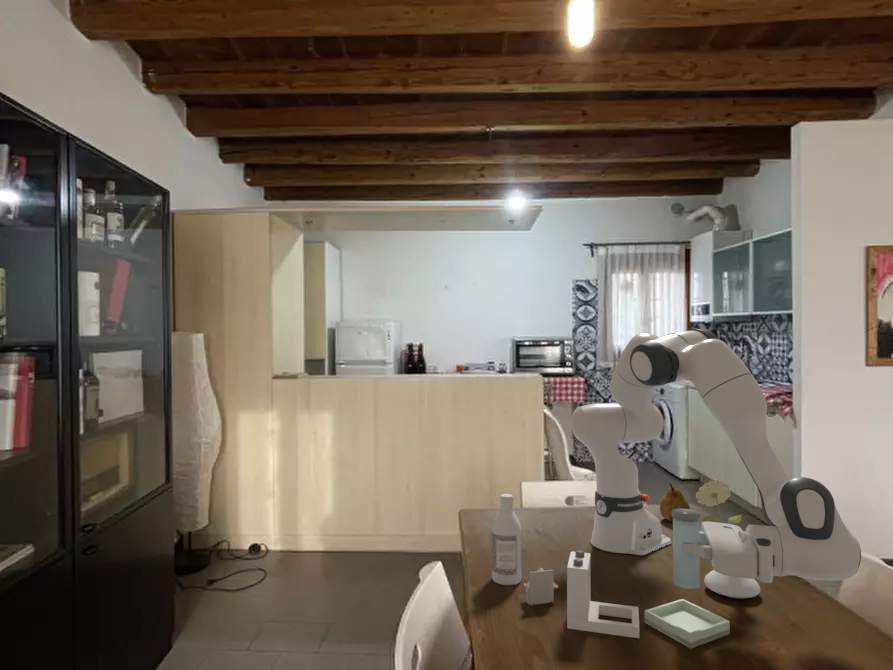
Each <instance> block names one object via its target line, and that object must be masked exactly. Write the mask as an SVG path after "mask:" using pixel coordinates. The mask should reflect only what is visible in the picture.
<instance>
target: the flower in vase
mask: <svg viewBox="0 0 893 670" xmlns="http://www.w3.org/2000/svg"><path fill="white" fill-rule="evenodd" d="M730 488H731V487H730V483H727V482H726V483H724V480H719V479H715V480H709V481H708V482H705V483H704V484H703V485H702V486H700V487H699V488H698V491H697V492H696V493H695V498H696V499H697V503H698V504H701V505H702V506H703V505H704V506H706V507H714V506H716V507H717V511H718V514H719V515H715V514H708V515H706V516H705V517H703V518H702V519H701V520H700V522H701V523H702V522H706V521H709V522H718V523H719V521H720V520H721V521H722V523H726V524H732V525H739V523H740V522H741V521H742V520H743V519H742V518H743V513H741V514H738V515H735V516H731V517H728V519H727V521H726V522H725V520H724V518H723V517H722V515H721V509H720V506H719V505H720V504H725V503H726V501H727V500H728V499H729V498H730V497H731V495H732V494H731V491H732V490H731V489H730ZM703 582H704V584H705V586H706V587H707V588H708V589H709V590H710V591H712V592H715V593H716V594H719V595H721V596H725V597H728V598H734V599H749V598H755V597H756V596H758V595H759V594H760V593H761V587H760V585H759V583H758V582H757V581H756V580H755V579H748V578H741V577H734V576H728V575H723V574H720V573H718V572H716V571H714V569H713V570H710V571H709V572H708V573H707V574H705V577H704V578H703Z"/></svg>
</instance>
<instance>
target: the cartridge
mask: <svg viewBox="0 0 893 670" xmlns="http://www.w3.org/2000/svg"><path fill="white" fill-rule="evenodd" d="M672 517H673V522H672V550H673V551H672V555H673V557H672V563H673V564H672V565H673V566H672V567H673V568H672V569H673V571H672V575H673V576H672V577H673V579H672V581H673V584H674V585H675V586H677V587H679V588H682V589H686V590H687V589H689V590H695V589H696V590H697V589H699V588H700V586H701V582H700V581H701V579H700V577H701V576H700V572H701V570H700V569H701V567H700V564H701V562H700V561H701V560H700V559H701V557H698V556H695V555H691V554H685V553H684V552H683V543H684V542H687V543H693V544H695V545H700V544H699V531H700V521H701V512H699V511H697V510H695V509H691V508H690V509H674V510H672Z"/></svg>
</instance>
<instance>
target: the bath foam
mask: <svg viewBox="0 0 893 670" xmlns="http://www.w3.org/2000/svg"><path fill="white" fill-rule="evenodd" d="M499 497H500V504H499V505H500V507H499V508H500V509H499V512H498V513H497V515H496V516H495V519H494V520H493V523H492V527H491V579H492V580H493V582H494V583H496V584H498V585H500V586H501V585H502V586H514V585H515V586H516V585H518V584H520V583H521V581H522V578H523V577H522V575H523V573H522V571H523V570H522V569H523V568H522V566H523V565H522V563H523V562H522V559H523V558H522V557H523V555H522V551H523V550H522V549H523V546H522V545H523V544H522V541H523V540H522V526H521V522H520V520H519V517H518V516H517V515H516V513H515V511H514V496H513V495H512V494H511V493H503V494H501V495H500V496H499Z"/></svg>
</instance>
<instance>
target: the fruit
mask: <svg viewBox="0 0 893 670" xmlns="http://www.w3.org/2000/svg"><path fill="white" fill-rule="evenodd" d="M668 485H669V486H670V488H668V489H667V490H666V492H665V493H664V495H663V497H662V498H661V501H660V504H659V511H660V514H661V515H662V517H663V518H664V519H666V520H667V521H669V522H671V523H673V517H672V510H674V509H691V508H690V505H689V501H687V499H686V497H685V495H684V494H683V493H682V491H681V490H680V489H678V488H676V487H673V486H672V483H669V484H668Z"/></svg>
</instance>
